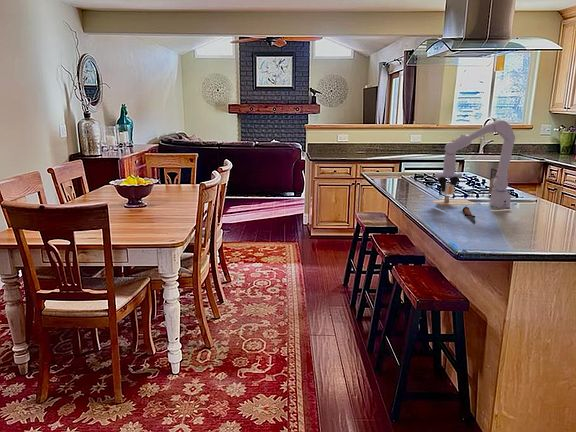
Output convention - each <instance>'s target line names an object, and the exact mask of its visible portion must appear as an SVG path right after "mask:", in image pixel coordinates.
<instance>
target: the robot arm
mask: <svg viewBox="0 0 576 432" xmlns="http://www.w3.org/2000/svg"><path fill="white" fill-rule="evenodd" d="M488 133H490V134H491V133H497V134H498V135H499V136H500V137H501V138H502V139H503V142H502V148H501V153H500V158H499V162H498V165H497V168H498V170H497V173H496V176H495V178H494V179H493V181H492V184H493V186H494V187H493V188H492V191H491V196H490V201H489V204H490V206H492V207H497V208H498V209H505V208H506V210H509V209H511V208H510V207H511V198H512V197H511V196H512V195H511V194H510V192H508V186H509V181H508V174H509V167H510V163H511V160H512V159H511V158H512V154H513V151H514V150H513V149H514V145H515V142H516V141H515V140H516V136H515V133H514V131H513V128H512V125H511V124H510V123H508V122H507V121H506V120H503V119H498V120H495V121H493V122H491V123H488V124H485V125H484V126H482V127H481V128H479V129H477V130H476V131H474V132H472V133H470V134H461V135H460V136H459V137H458V138H455V139H452V140H451V142H448V143H446V144H445V146H444V151H445V152H444V157H443V169H442V173H436V174H434V179H437V181H438V183H439V185H440V192H441V191H442V192H445V185H446V184H447V180H448V179H449V184H452V185H454V189H455V187H456V185H457V184H458V182H459V180H460V178H461V179H462V178H463V173H456V172H455V170H456V161H457V160H456V159H457V157H456V155H457V154H456V153H457V151H460V150H462V149H464V148H467V147H468V146H469V145H471V144H472V142H473V140H476V139H478V138H479V137H482V136H483V135H486V134H488ZM446 178H447V179H446Z"/></svg>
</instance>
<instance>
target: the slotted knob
mask: <svg viewBox="0 0 576 432" xmlns="http://www.w3.org/2000/svg"><path fill="white" fill-rule="evenodd" d="M440 194H443V195H444V196H449V195H452V196H453V195H455V188H454V185H452V184H450V183H446V185H445V192H442V191H441V190H440Z"/></svg>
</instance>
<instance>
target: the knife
mask: <svg viewBox="0 0 576 432" xmlns="http://www.w3.org/2000/svg"><path fill="white" fill-rule="evenodd" d="M462 213H464V217H466V218H468V220H469V221H470V222H471V224H473V225H475V224H476V219H475V218H476V215H473V214H472V211H470V208H469V207H468V206H464V207H463V208H462Z"/></svg>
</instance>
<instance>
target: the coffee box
mask: <svg viewBox="0 0 576 432" xmlns="http://www.w3.org/2000/svg"><path fill="white" fill-rule="evenodd" d="M497 170H498V167H497V168H496V167H493V168H490V175H489V177H490V178H489V186H488V194H489V193H490V194H491V191H492V188H493V187H494V186H493V184H492V181H493V179H494V178H495V176H496V173H497Z"/></svg>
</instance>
